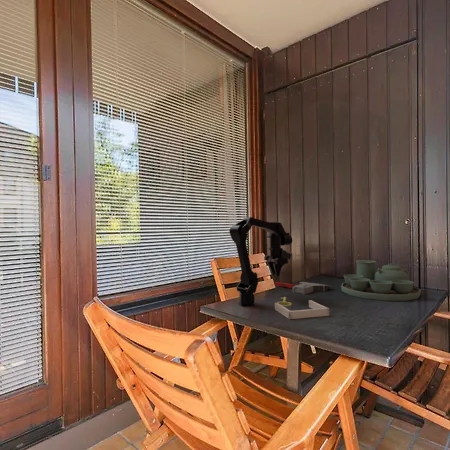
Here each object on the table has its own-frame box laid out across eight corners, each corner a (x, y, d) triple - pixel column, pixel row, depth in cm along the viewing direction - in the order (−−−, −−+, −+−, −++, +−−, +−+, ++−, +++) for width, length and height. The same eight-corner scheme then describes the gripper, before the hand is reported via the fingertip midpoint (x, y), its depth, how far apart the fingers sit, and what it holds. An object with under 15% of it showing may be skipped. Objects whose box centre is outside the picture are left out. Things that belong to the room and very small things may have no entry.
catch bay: (289, 319, 126) (289, 311, 126) (274, 309, 141) (274, 303, 141) (329, 315, 130) (329, 308, 130) (311, 306, 145) (311, 300, 145)
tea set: (327, 292, 176) (327, 263, 176) (364, 283, 200) (363, 258, 200) (400, 306, 145) (400, 271, 145) (433, 294, 169) (433, 264, 169)
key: (285, 300, 159) (285, 296, 159) (293, 306, 147) (292, 302, 147) (272, 301, 158) (272, 297, 158) (278, 307, 146) (278, 303, 146)
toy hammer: (288, 277, 205) (331, 283, 184) (288, 283, 205) (331, 289, 184) (267, 282, 188) (311, 289, 167) (267, 289, 188) (311, 296, 167)
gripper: (297, 246, 155) (298, 277, 155) (282, 244, 173) (282, 272, 173) (277, 247, 153) (277, 278, 153) (263, 245, 171) (264, 273, 171)
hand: (275, 275), depth 162 cm, fingers open, 5 cm apart
